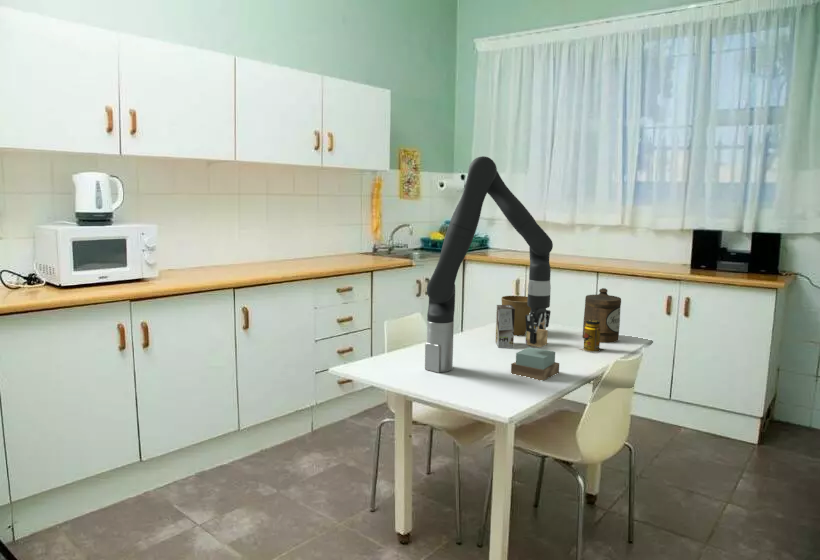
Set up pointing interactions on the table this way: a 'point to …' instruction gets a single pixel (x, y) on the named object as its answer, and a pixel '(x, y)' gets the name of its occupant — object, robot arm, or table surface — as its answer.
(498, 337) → the coffee box
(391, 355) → the table surface
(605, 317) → the wooden container
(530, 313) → the robot arm
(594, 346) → the condiment
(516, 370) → the tower bottom slab
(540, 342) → the oak block
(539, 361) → the tower top slab
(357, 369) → the table surface
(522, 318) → the plant pot
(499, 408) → the table surface
